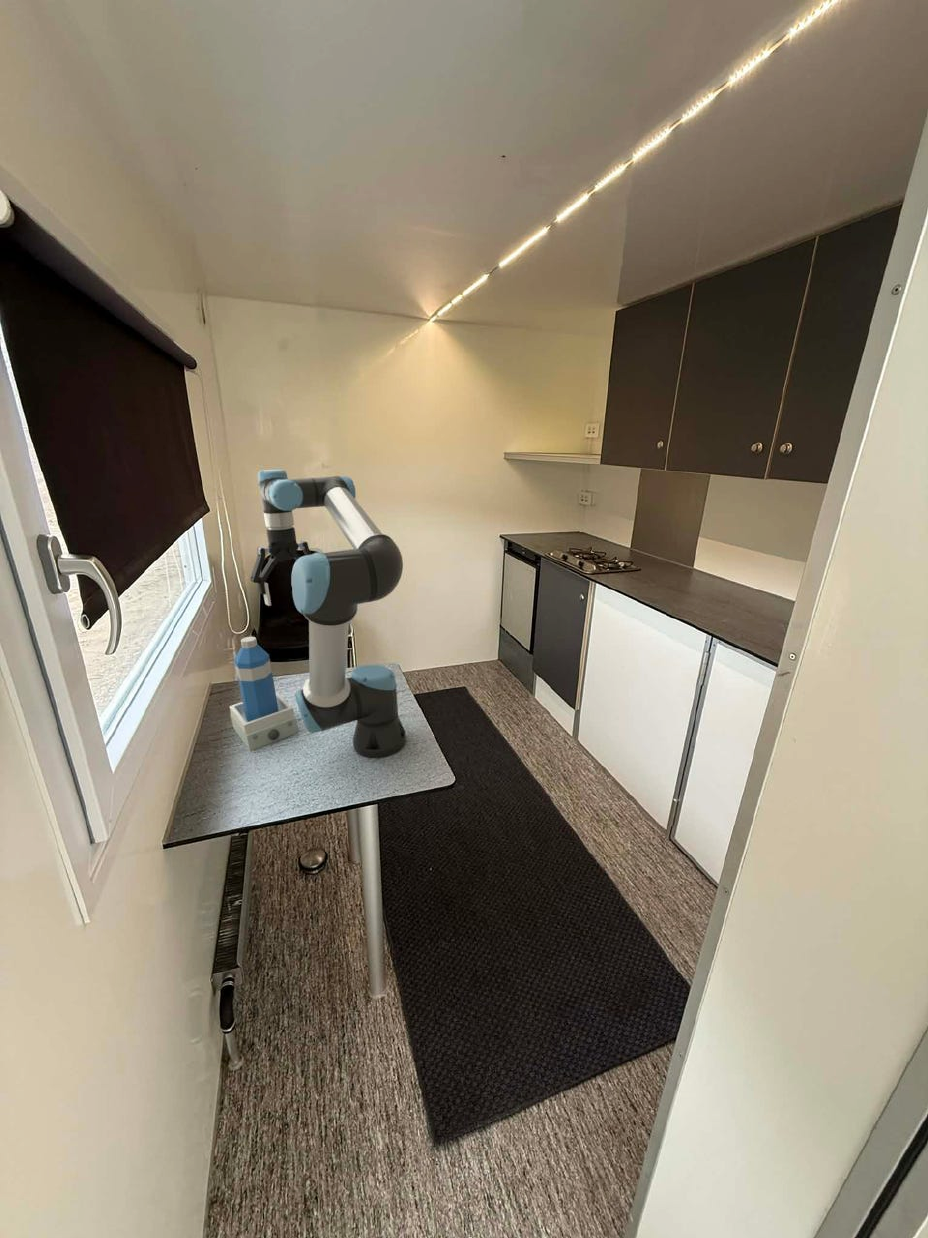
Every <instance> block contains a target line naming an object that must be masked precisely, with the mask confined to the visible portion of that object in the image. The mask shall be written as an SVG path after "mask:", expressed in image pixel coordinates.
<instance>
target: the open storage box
mask: <svg viewBox="0 0 928 1238" xmlns="http://www.w3.org/2000/svg"><path fill="white" fill-rule="evenodd" d="M275 692H276V698H277V704H278V710H279V711H278V712H275V713H273V714H270V715H267V716H264V717H261V718H258V719H256V720H253V721H250V722H248V721H247V719H246V716H245V711H244V706H243V701H241V702H238V703H235V704H232V705H230V706H229V711H230V713H229V714H230V719H231V723H232V728H233V729H234V731H235V733H236V734H237V736H239V738H240V740H241V741H242V742H243V743H244V745H245V746H246V748H247V749H248V750H249V752H251V751H253V750H257V749H259V748H262V747H264V746H266V745H269V744H272V743H274V742H278V741H280V740H282V739H285V738H287V737H290V736H293V735H295V734H297V733H299V731H298V725H297V719H296V716H295V713H294V708H293V707H292V705H291V704H289V703H288V701H286V699H285V698H284V697H282V696H281V694H280V693H278V692H277V691H276V690H275Z"/></svg>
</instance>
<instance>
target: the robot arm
mask: <svg viewBox="0 0 928 1238" xmlns="http://www.w3.org/2000/svg"><path fill="white" fill-rule="evenodd" d="M257 480H258V482H257V484H258V486H259V492H260V498H261V504H262V509H263V516H264V523H265V527H266V537H267V542H268V546H267V547H260V546H259V547H257V556H256V559H255V563H254V566H253V568H252V571H251V576H250V578H249V579H250V582H252V583H254V584H257V585H258V589H259V590H258V591H259V593H260V594H261V595H262V596H263V600H264V604H265V605H266V606H268V607H270V606H272V602H271V601H272V600H271V595H270V589H269V583H267V582H266V581H267V579H268V577H269V576H270V574H271V573H272V571H273V569H274V568H275V566H276V565H277V564H278V562H284V561H291V560H293V559H294V560H295V562H294V564H293V566H292V571H291V576H290V577H291V578H290V579H291V581H290V583H291V587H292V591H291V594H292V599H293V604H294V606H295V608H296V610H297V611H298V612H299V613H300V614H303V616H304V618H305V619H307V620H308V632H309V633H308V634H309V635H308V640H309V641H308V642H309V644H308V648H309V649H308V654H309V655H308V656H309V658H308V660H309V661H308V662H309V663H308V667H309V671H308V672H309V675H308V678H307V679H306V680H305V682H304V683H303V688H302V689H300V690H297V691H296V692H295V694H294V695H295V699H296V703H297V707H298V709H299V713H300V716H301V718H302V721H303V725H304V726H305V729H306V731H308V733H310V734H315V733H320V732H325V731H327V730H330V729H333V728H337V727H340V726H343V725H345V724H349V723H352V722H355V721H356V725H355V728H354V733H353V736H352V743H353V744H352V746H353V750H354V751H355V752H356V753H357V754H358V755H360V756H363V757H366V758H370V759H371V758H372V759H377V758H378V759H379V758H380V759H381V758H385V757H388V756H392V755H394V754H396V753H398V752H399V751H400V750H402V749H403V748H404V747H405V745H406V742H407V733H406V730H405V727H404V725H403V723H402V721H401V719H400V716H399V707H398V706H399V705H398V691H397V688H398V687H397V686H398V685H397V682H396V675H395V672H394V671H392V669H390V668H388V667H386V666H382V665H379V664H366V665H361V666H358V667H355V668H354V669H352V671H351V676H350V677H346V671H347V670H346V669H347V657H348V656H347V655H348V644H349V643H348V642H349V630H350V622H351V621H352V620H353V619H354V618H355V617H356V615H357V613H358V605H361V604H366V603H371V602H376V601H380V600H383V599H384V598H386V597H387V596H389V595H390V594H391V593H392V592H393V591H394V590H395V589H396V588H397V586H398V584H399V582H400V581H401V578H402V575H403V569H404V563H403V560H404V559H403V556H402V553H401V551H400V548H399V546H398V545H397V544H396V542H395V541H394V539H393V538H391V537H390V536H389V535H387V534H385V533H382V532H381V530H380V529H379V528H378V526H377V525H376V524H375V523H374V521H373V520H372V519H371V517H370V516H369V515H368V514H367V512H366V511H365V510H364V508H363V507H362V506H361V504H359V502H358V501H357V500H356V495H357V493H356V487H355V485H354V481H353V480H352V478H351V477H349V476H342V475H341V476H340V475H334V476H325V477H323V476H321V477H302V478H301V477H300V478H288V474H287V471H286V470H284V469H265V470H264V469H263V470H259V471H258V473H257ZM318 507H319V508H320V507H321V508H323V507H325V508H326V510H327V511H328V513H329V514H330V515H331V517H332V519H333V520H334V522H335V523H336V524H337V525H336V526H338V528H339V530H341V532H342V533H343V534H342V535H344V537H345V538H346V539H347V541H348V543H349V544H350V545H351V547H352V548H353V549H352V548H351V549H345V550H338V551H330V552H314V553H312V551H311V550H310V547H309V543H308V541H303V540H301V541H300V542H297V535H296V530H295V527H294V525H295V522H294V521H295V520H294V514H293V511H294V510H296V509H306V508H307V509H308V508H318ZM298 549H300V550H302V552H303V554H304V555H303V556H302V555H301V556H300V554H298V552H297V551H298ZM268 553H269V554H270V557H269V558H268V562H267V563H266V564H265V566H264V568H263V565H264V563H265V560H266V559H265V558H266V556H267V555H268Z"/></svg>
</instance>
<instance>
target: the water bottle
mask: <svg viewBox="0 0 928 1238" xmlns="http://www.w3.org/2000/svg"><path fill="white" fill-rule="evenodd" d="M240 645H241V647H240V648H239V650H238V652H237V653H236V655H235V657H234V659H233V661H234V662H233V663H234V667H235V671H236V676H237V680H238V681H237V682H238V687H239V691H240V696H241V702H243V706H244V711H245V716H246V719H247V721H248V722H250V721H253V720H256V719H258V718H261V717H264V716H267V715H270V714H273V713H275V712H278V711H279V710H278V704H277V698H276V692H277V691H276V688H275V683H274V676H273V671H272V665H271V659H270V654H269V653H268V652H266V650H264V649H263V648H262V647H261V646H260V645H259V644H258V642H257V638H256V637H255V636H246V637H242V639H240ZM275 691H276V692H275Z"/></svg>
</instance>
